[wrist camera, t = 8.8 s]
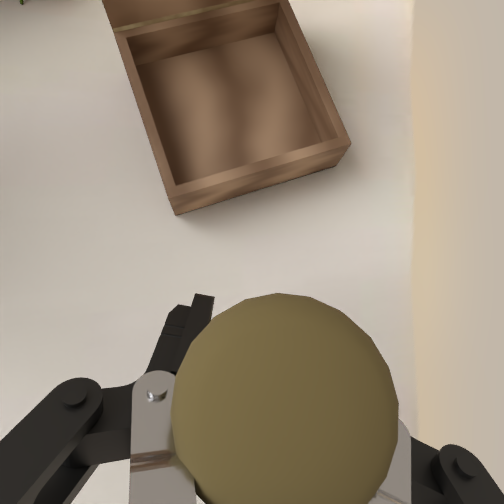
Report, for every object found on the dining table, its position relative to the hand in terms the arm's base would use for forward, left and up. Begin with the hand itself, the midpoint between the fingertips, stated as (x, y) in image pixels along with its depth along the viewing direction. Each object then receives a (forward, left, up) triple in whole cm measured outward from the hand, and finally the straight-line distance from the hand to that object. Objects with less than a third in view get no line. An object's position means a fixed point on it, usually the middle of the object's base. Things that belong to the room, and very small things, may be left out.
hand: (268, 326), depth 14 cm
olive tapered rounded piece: (-1, -2, -5) cm, 5 cm away
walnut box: (+5, +18, -16) cm, 25 cm away
